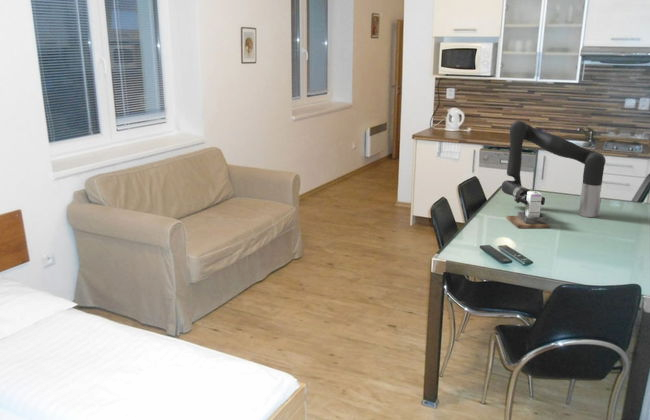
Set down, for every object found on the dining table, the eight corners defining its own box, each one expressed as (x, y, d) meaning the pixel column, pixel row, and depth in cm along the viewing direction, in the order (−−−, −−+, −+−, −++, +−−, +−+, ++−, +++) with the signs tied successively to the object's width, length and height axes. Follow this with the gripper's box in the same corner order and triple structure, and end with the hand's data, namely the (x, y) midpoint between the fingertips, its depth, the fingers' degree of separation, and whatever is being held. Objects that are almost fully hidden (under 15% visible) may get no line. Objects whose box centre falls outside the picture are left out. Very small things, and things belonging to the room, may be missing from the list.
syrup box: (539, 222, 289) (542, 194, 285) (527, 221, 289) (530, 193, 285) (535, 218, 295) (538, 191, 290) (523, 218, 294) (526, 191, 290)
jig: (536, 218, 300) (537, 210, 299) (549, 228, 285) (550, 219, 283) (506, 218, 299) (507, 210, 298) (517, 228, 284) (518, 219, 283)
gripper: (510, 187, 302) (521, 195, 286) (536, 187, 302) (549, 195, 287) (508, 201, 304) (520, 210, 288) (535, 201, 305) (548, 210, 289)
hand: (535, 203), depth 288 cm, fingers open, 8 cm apart
